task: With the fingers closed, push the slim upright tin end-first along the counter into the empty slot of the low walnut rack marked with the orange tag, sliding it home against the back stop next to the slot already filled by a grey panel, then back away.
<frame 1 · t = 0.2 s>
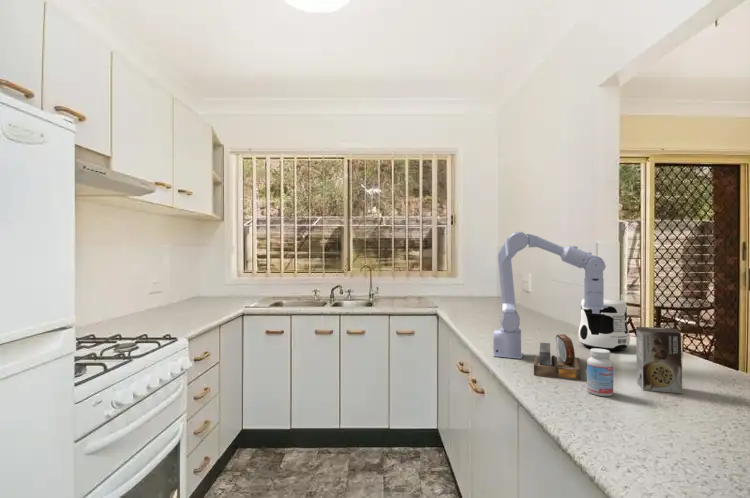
hand: (593, 332, 138), 10 cm above the counter, tool pointing down, fingers open, 7 cm apart
pill bottle: (600, 393, 109), on the counter
milk container: (603, 348, 158), on the counter
rack: (566, 372, 126), on the counter
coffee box: (658, 389, 112), on the counter
tin: (564, 361, 139), on the counter, touching rack
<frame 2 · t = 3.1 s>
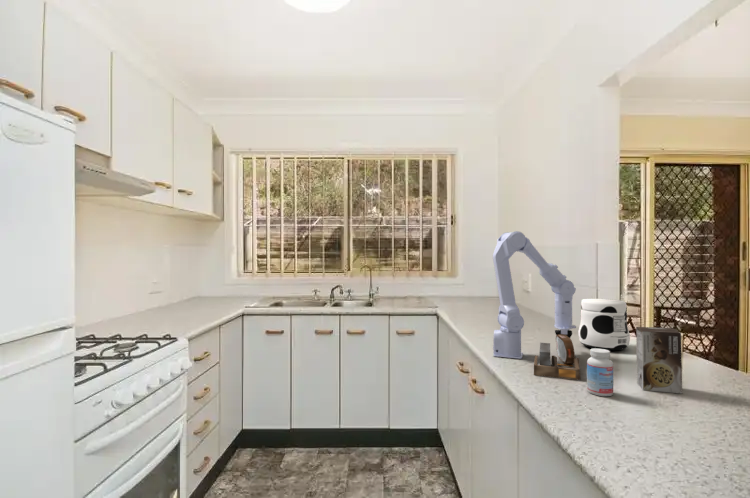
hand: (563, 350, 148), 1 cm above the counter, tool pointing down, fingers closed
tin: (564, 361, 139), on the counter, touching gripper, rack
everything else where it was.
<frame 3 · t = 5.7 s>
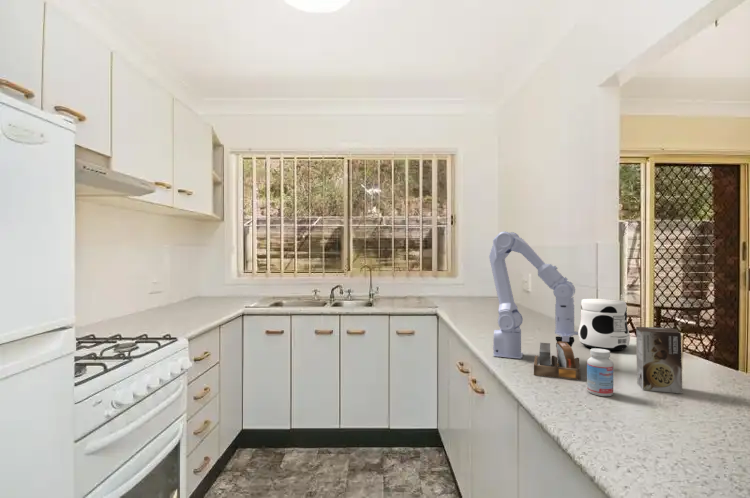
hand: (564, 359, 137), 1 cm above the counter, tool pointing down, fingers closed
tin: (565, 371, 128), resting in rack, touching gripper
everything else where it was.
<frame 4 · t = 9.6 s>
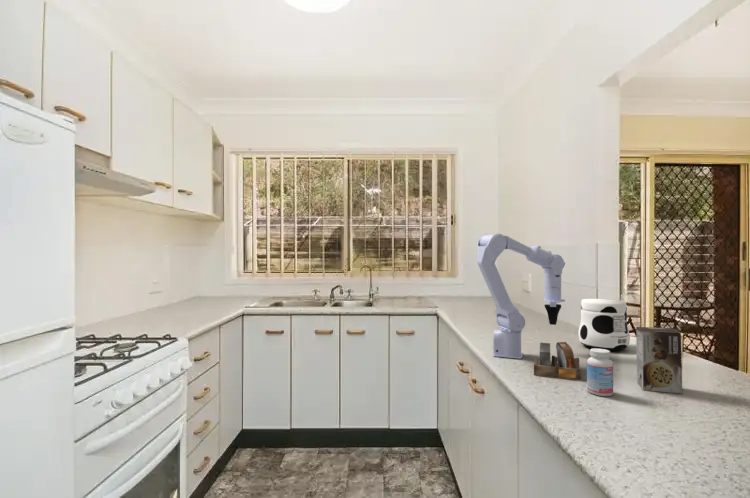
hand: (552, 324, 151), 10 cm above the counter, tool pointing down, fingers closed
tin: (565, 372, 128), resting in rack
everything else where it was.
at the end: tin 0.7 cm from the target spot on the rack, point 0.0 cm above the rack's base; tin tilted 0°; the gripper is holding nothing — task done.
